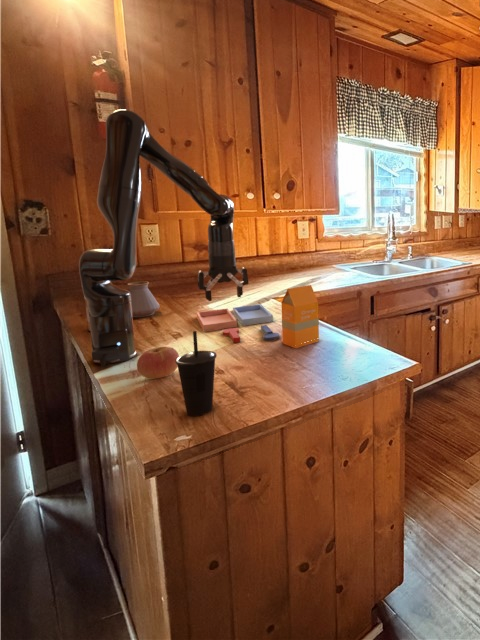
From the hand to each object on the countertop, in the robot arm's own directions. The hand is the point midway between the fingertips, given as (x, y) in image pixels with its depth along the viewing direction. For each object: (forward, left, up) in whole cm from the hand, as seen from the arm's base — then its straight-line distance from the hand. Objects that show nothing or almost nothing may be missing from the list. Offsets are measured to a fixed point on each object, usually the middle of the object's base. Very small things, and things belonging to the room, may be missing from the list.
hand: (224, 298), depth 142 cm
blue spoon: (-6, -12, -14) cm, 19 cm away
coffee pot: (+45, +26, -14) cm, 54 cm away
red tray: (+19, 0, -14) cm, 23 cm away
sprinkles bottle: (+32, +33, -14) cm, 48 cm away
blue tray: (+19, -12, -14) cm, 26 cm away
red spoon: (-2, -2, -14) cm, 14 cm away
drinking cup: (-53, +13, -14) cm, 56 cm away
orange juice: (-20, -19, -14) cm, 31 cm away
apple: (-25, +19, -14) cm, 35 cm away
